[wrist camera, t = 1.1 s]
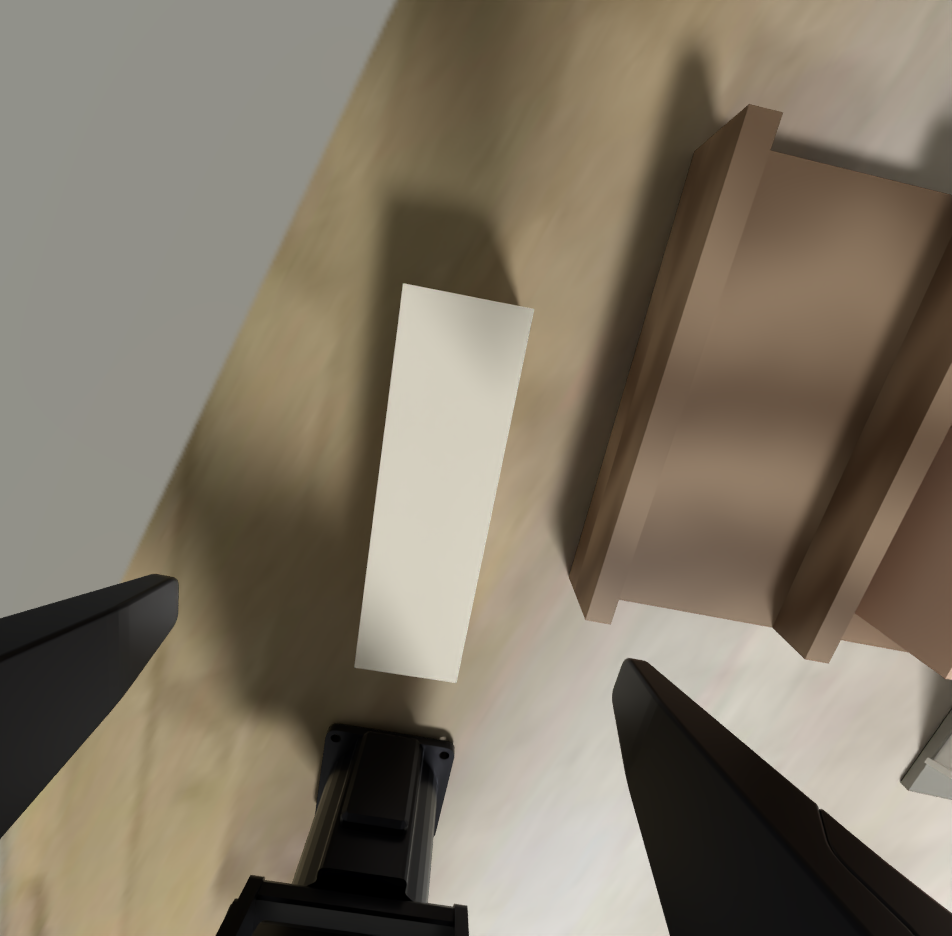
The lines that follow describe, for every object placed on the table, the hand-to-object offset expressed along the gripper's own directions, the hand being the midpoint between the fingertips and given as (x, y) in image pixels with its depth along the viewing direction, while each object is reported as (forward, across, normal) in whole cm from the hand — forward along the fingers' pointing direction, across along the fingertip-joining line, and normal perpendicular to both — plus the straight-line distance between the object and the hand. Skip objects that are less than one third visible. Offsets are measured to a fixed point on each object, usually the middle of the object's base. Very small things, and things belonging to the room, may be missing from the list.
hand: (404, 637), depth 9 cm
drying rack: (+10, -16, -5) cm, 20 cm away
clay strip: (+11, 0, 0) cm, 11 cm away
